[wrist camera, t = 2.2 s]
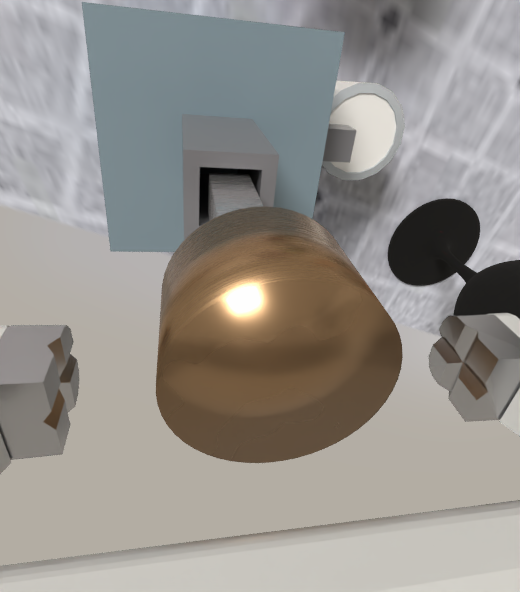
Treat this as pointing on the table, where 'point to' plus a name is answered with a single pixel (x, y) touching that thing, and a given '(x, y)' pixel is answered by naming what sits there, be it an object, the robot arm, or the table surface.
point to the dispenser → (206, 116)
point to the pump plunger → (268, 334)
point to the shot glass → (366, 127)
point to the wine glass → (452, 258)
